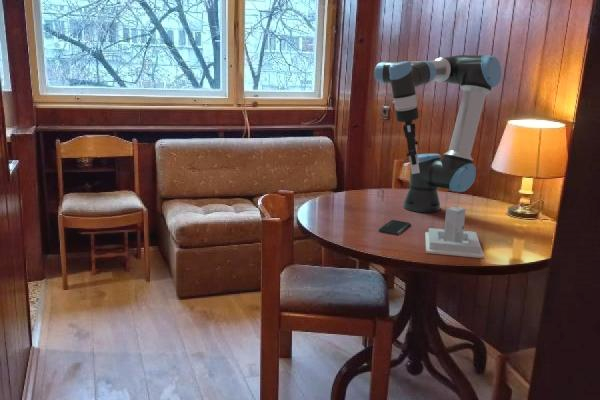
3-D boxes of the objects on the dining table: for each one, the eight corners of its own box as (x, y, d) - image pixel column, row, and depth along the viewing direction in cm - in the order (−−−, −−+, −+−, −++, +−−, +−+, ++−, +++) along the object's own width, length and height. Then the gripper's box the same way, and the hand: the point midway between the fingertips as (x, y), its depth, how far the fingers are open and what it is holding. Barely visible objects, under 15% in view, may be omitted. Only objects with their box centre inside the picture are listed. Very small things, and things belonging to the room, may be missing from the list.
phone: (411, 223, 203) (398, 233, 190) (411, 225, 203) (398, 236, 190) (391, 219, 207) (377, 229, 194) (391, 222, 207) (377, 232, 194)
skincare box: (454, 246, 178) (457, 211, 175) (442, 243, 181) (445, 208, 178) (463, 242, 182) (466, 208, 179) (451, 239, 185) (454, 205, 182)
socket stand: (425, 234, 193) (425, 226, 192) (477, 238, 189) (478, 230, 188) (426, 252, 174) (426, 244, 173) (483, 258, 170) (484, 249, 169)
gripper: (396, 105, 194) (404, 160, 200) (394, 116, 171) (404, 179, 177) (416, 101, 193) (425, 157, 198) (418, 112, 169) (427, 176, 175)
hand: (415, 168), depth 188 cm, fingers open, 13 cm apart
